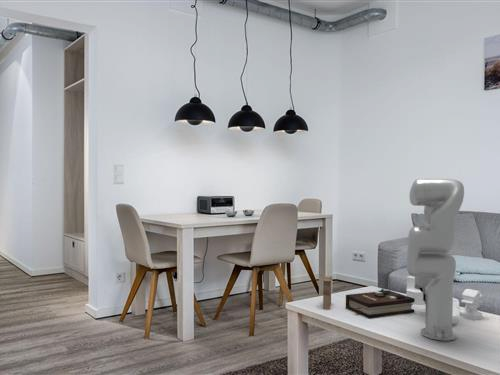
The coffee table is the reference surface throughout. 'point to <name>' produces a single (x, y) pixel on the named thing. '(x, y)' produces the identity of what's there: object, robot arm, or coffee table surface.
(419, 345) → the coffee table surface
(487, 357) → the coffee table surface
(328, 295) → the bookend
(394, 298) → the decorative book
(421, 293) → the cylinder with rectangular tab
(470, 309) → the character figurine
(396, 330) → the coffee table surface
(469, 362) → the coffee table surface
